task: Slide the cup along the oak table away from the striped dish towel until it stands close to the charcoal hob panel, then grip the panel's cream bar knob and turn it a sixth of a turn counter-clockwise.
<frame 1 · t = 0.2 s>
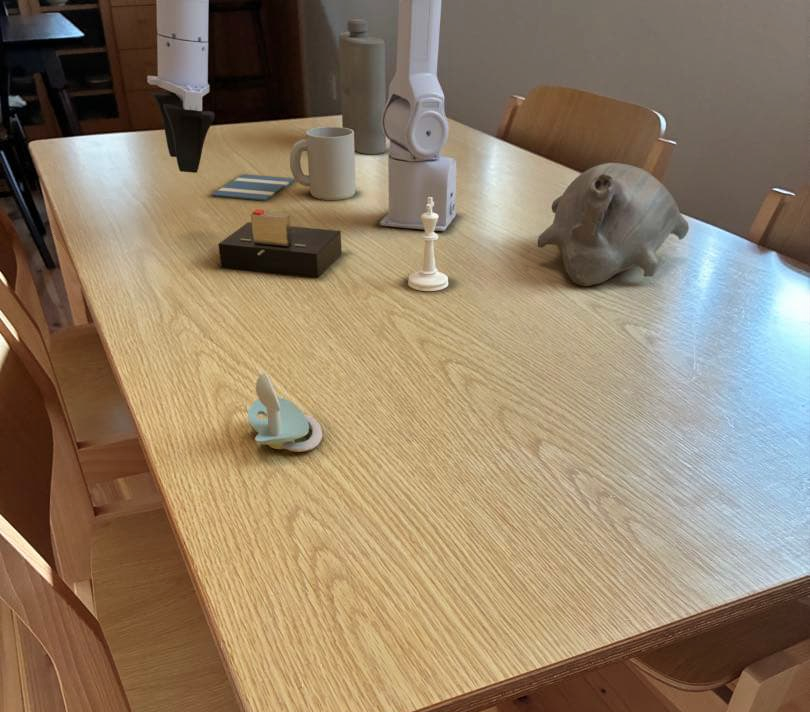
hand: (183, 164, 101), 10 cm above the table, tool pointing down, fingers open, 7 cm apart
cup: (324, 195, 127), on the table
chess piece: (428, 285, 98), on the table
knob: (271, 227, 99), point 5 cm above the table, hinge at 0.0°
flask: (362, 146, 152), on the table
clay animal vessel: (595, 264, 104), on the table
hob: (282, 260, 104), on the table
dish towel: (254, 188, 130), on the table
pacifier: (288, 440, 70), on the table
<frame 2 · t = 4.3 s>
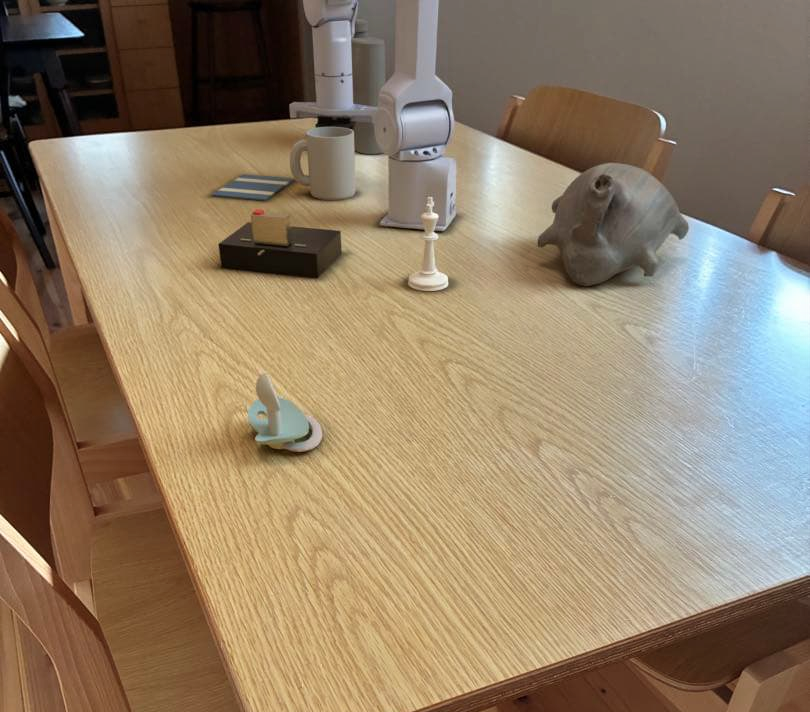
hand: (337, 169, 131), 2 cm above the table, tool pointing down, fingers closed
cup: (324, 195, 127), on the table, touching gripper
everything else where it was.
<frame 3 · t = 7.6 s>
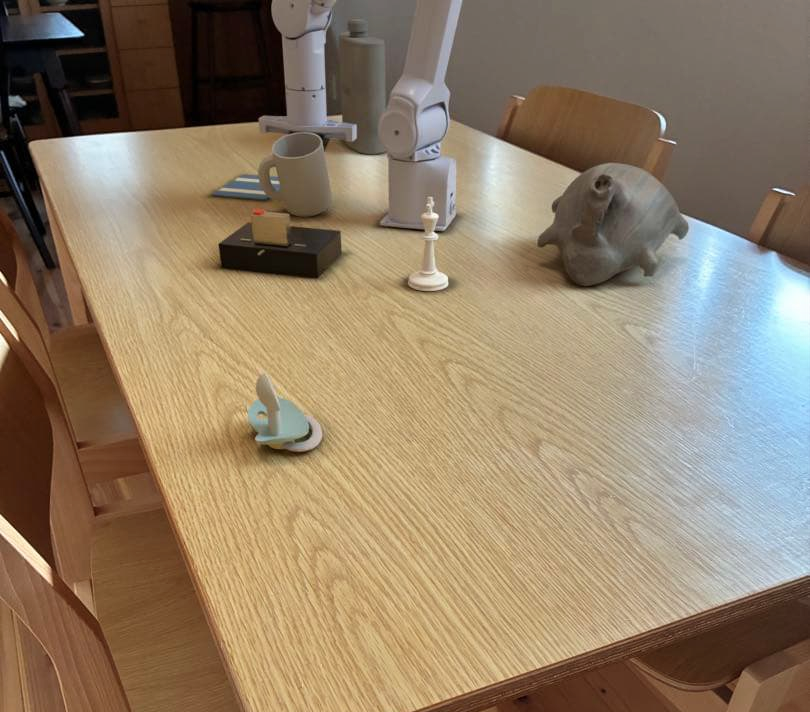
hand: (310, 187, 123), 2 cm above the table, tool pointing down, fingers closed
cup: (300, 206, 120), point 1 cm above the table, touching gripper
everything else where it was.
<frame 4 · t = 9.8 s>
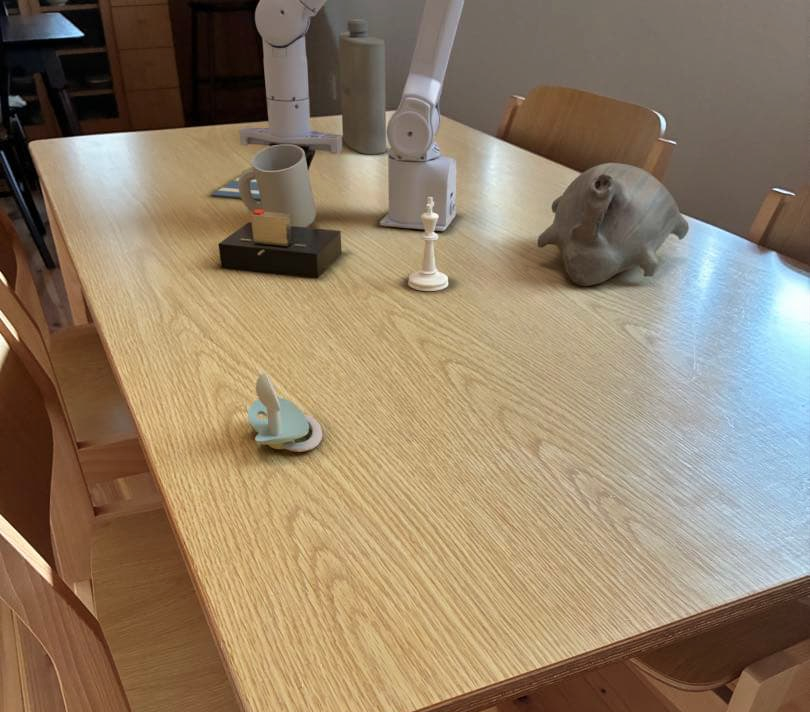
hand: (294, 201, 118), 2 cm above the table, tool pointing down, fingers closed
cup: (282, 221, 115), point 1 cm above the table, touching gripper
everything else where it was.
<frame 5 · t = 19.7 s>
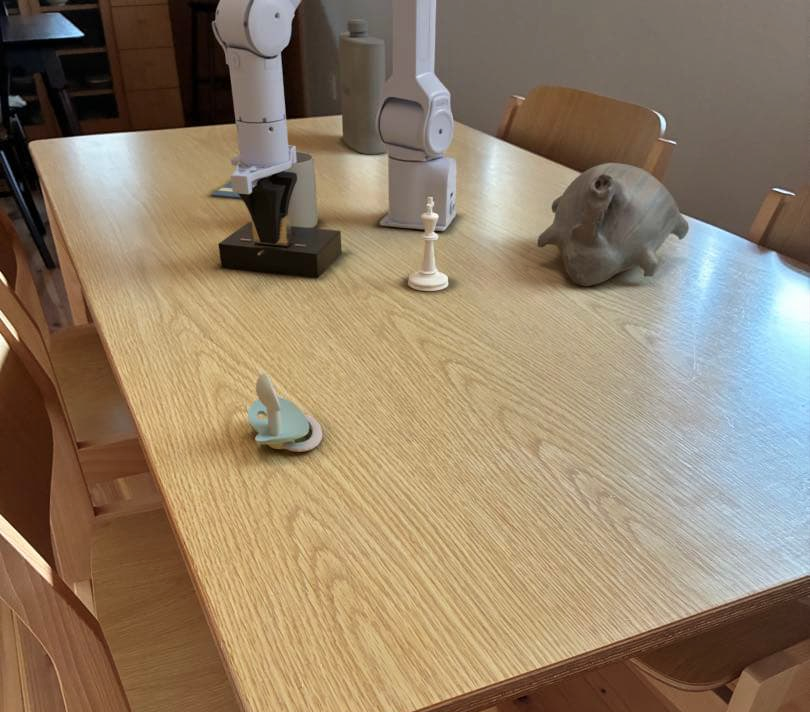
hand: (272, 239, 100), 4 cm above the table, tool pointing down, fingers closed on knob, 2 cm apart
cup: (283, 226, 115), on the table
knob: (271, 227, 99), point 5 cm above the table, hinge at -0.1°, touching gripper
everything else where it was.
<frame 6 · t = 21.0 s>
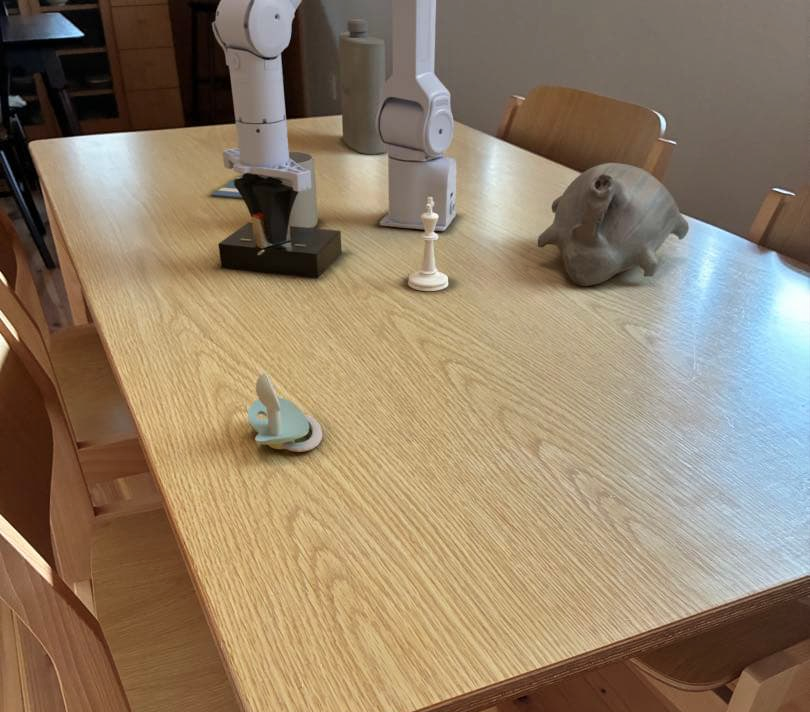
hand: (272, 240, 100), 3 cm above the table, tool pointing down, fingers closed on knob, 2 cm apart
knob: (271, 227, 99), point 5 cm above the table, hinge at 59.9°, touching gripper
everything else where it was.
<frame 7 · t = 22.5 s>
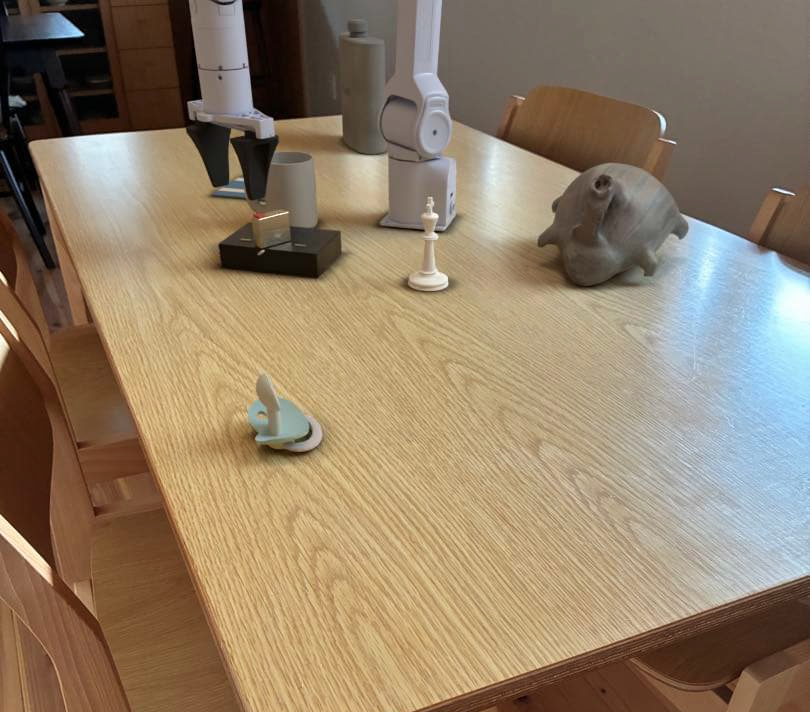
hand: (238, 192, 100), 8 cm above the table, tool pointing down, fingers open, 7 cm apart
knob: (271, 227, 99), point 5 cm above the table, hinge at 58.4°
everything else where it was.
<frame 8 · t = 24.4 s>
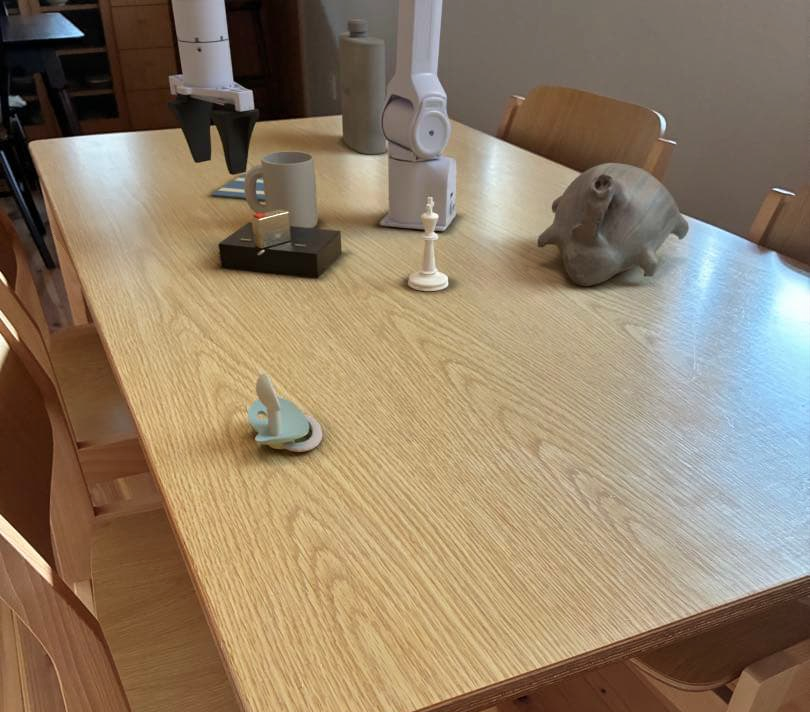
hand: (219, 167, 100), 10 cm above the table, tool pointing down, fingers open, 7 cm apart
nothing on the table moved.
at the end: cup inside the target area on the table beside the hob (2.5 cm from its centre), on the table; cup tilted 0°; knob at +58° (first picture: +0°) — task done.
